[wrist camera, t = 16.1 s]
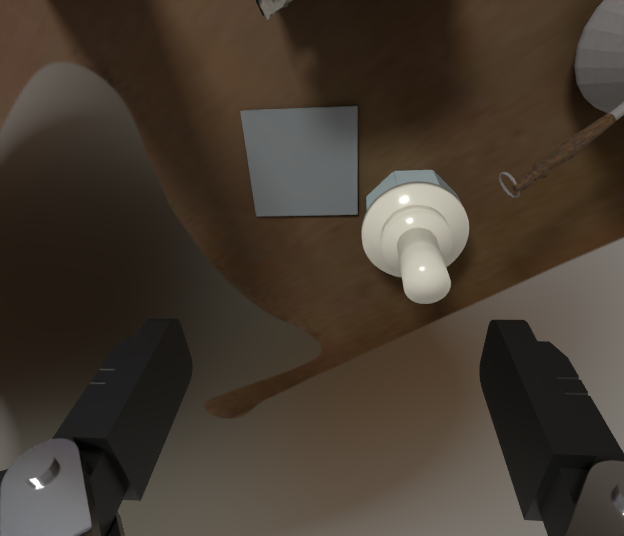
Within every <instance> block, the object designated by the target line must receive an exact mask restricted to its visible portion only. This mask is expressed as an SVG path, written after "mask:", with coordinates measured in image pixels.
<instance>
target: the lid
mask: <svg viewBox="0 0 624 536" xmlns="http://www.w3.org/2000/svg"><path fill="white" fill-rule="evenodd" d="M468 235H469V221H468V217H467V214H466V212H465V210H464V208H463V206H462V204H461V203H460V201H459V199H458V198H457V197H456V196H455V195H454V194H453V193H452V192H450V191H449V190H447V189H446V188H444V187H442V186H440V185H437V184H434V183H429V182H417V181H416V182H408V183H403V184H400V185H397V186H394V187H392V188H390V189H388V190H387V191H385V192H384V193H382V194H381V195H380V196H378V197H377V198H376V199H375V200H374V201H373V202H372V204H371V205H370V207H369V208H368V210H367V212H366V214H365V216H364V219H363V223H362V243H363V247H364V250H365V253H366V254H367V256H368V258H369V259H370V260H371V262H372V263H373V264H374V265H375V266H376V267H378V268H379V269H380V270H382V271H384V272H386V273H388V274H390V275H393V276H397V277H402V281H403V287H404V292H405V294H406V295H407V297H408V298H409V299H411V300H412V301H414V302H416V303H421V304H430V303H434V302H437V301H439V300H441V299H442V298H444V297H445V296H446V295H447V293H448V292H449V290H450V287H451V281H450V277H449V274H448V271H447V268H446V267H447V266H449V265H450V264H451V263H452V262H454V260H455V259H456V258H457V257H458V256H459V255H460V253H461V252H462V250H463V249H464V247H465V245H466V242H467V239H468Z"/></svg>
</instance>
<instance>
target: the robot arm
mask: <svg viewBox="0 0 624 536" xmlns="http://www.w3.org/2000/svg"><path fill="white" fill-rule="evenodd" d="M192 369H193V367H192V358H191V355H190V351H189V348H188V345H187V342H186V338H185V335H184V332H183V329H182V325H181V323H180V321H179V320H178V319H177V318H148V319H147V320H145V322H144V323H143V325H142V326H141V328H140V329H139V331H138V333H137V334H136V336H135V337H128V338H126V339H125V340H124V341H123V342H121V343H120V344H119V345H118V346H117V347H115V348H114V349H113V350H112V351H111V352H110V353H109V355H108V356H107V358H106V359H105V361H104V362H103V364H102V365H101V367H100V371H97V373H96V374H95V376H94V377H93V379H92V380H91V384H90V385H88V386H87V388H86V389H85V391H84V392H83V394H82V395H81V397H80V398H79V399H78V401H77V403H76V404H75V405H74V407H73V408H72V410H71V411H70V413H69V414H68V416H67V417H66V419H65V420H64V422H63V423H62V425H61V426H60V428H59V429H58V431H57V432H56V434H55V435H54V437H53V438H52V439H51V440H47V441H45V442H42V443H39V444H37V445H35V446H33V447H32V448H30V449H29V450H27V451H26V452H25V453H23V454H22V455H21V456H20V457H19V458H17V459H16V461H14V463H13V464H12V465H11V466H10V467H9V469H7V470H3V471H0V536H125V532H124V528H123V524H122V519H121V516H120V514H119V513H118V509H119V506H120V504H121V502H122V500H139V501H140V500H141V498H142V496H143V493H144V491H145V489H146V486H147V484H148V482H149V479H150V477H151V474H152V472H153V469H154V467H155V465H156V462H157V460H158V458H159V455H160V453H161V450H162V448H163V445H164V443H165V441H166V438H167V436H168V434H169V431H170V429H171V426H172V424H173V422H174V419H175V417H176V414H177V412H178V410H179V407H180V405H181V402H182V400H183V398H184V395H185V393H186V390H187V388H188V386H189V383H190V380H191V376H192ZM578 377H579V376H578V374H577V373H576V371H575V369H574V367H573V366H572V364H571V362H570V361H569V359H568V357H566V356H565V355H564V354H563V353H562V352H561V351H560V350H558V349H557V348H556V347H555V346H554V345H553V344H551V343H550V342H542V341H541V342H540V341H537V340H536V338H535V336H534V334H533V332H532V330H531V328H530V326H529V325H528V323H527V322H526V321H525V320H491V321H490V323H489V326H488V331H487V335H486V339H485V343H484V348H483V352H482V357H481V361H480V382H481V387H482V390H483V393H484V396H485V400H486V402H487V406H488V409H489V412H490V415H491V418H492V421H493V424H494V427H495V431H496V434H497V437H498V440H499V443H500V446H501V449H502V452H503V455H504V459H505V462H506V465H507V468H508V471H509V474H510V477H511V480H512V483H513V486H514V489H515V492H516V496H517V499H518V502H519V505H520V508H521V511H522V514H523V517H524V520H536V521H543V523H544V526H545V528H546V531H547V534H548V536H624V453H623V451H622V450H621V448H620V446H619V445H618V443H617V441H616V439H615V438H614V436H613V435H612V433H611V431H610V429H609V428H608V426H607V424H606V422H605V421H604V419H603V417H602V415H601V414H600V412H599V410H598V409H597V407H596V405H595V404H594V402H593V400H592V399H591V397H590V396H588V391H587V390H586V388H585V386H584V385H583V383H582V381H581V380H579V378H578Z"/></svg>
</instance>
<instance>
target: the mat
mask: <svg viewBox="0 0 624 536" xmlns="http://www.w3.org/2000/svg"><path fill="white" fill-rule="evenodd" d="M240 112H241V119H242V126H243V132H244V139H245V146H246V152H247V159H248V166H249V172H250V179H251V186H252V192H253V199H254V206H255V212H256V216H308V215H358V105H355V106H332V107H310V108H288V109H265V110H243V111H240Z"/></svg>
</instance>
